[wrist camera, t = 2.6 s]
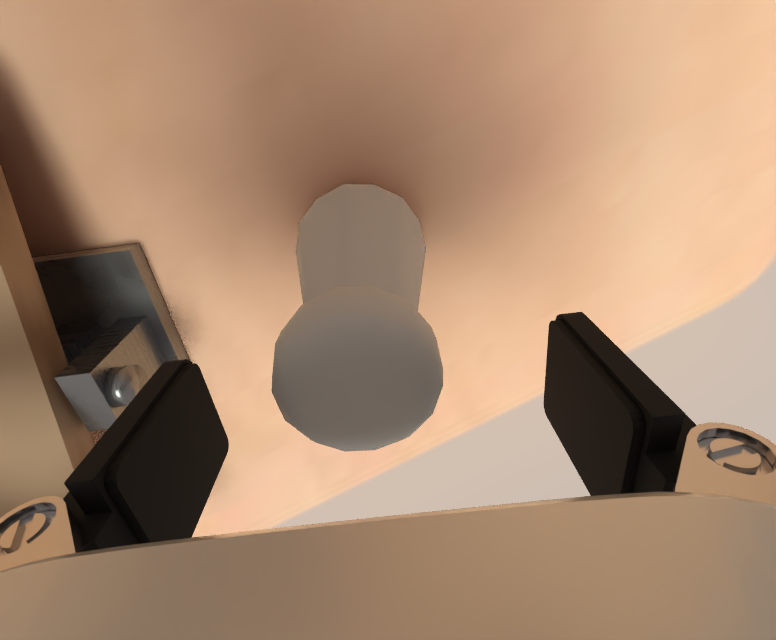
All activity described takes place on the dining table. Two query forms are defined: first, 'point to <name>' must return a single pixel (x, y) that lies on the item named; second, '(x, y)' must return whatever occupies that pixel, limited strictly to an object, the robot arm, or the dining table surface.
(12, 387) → the balance beam
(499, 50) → the dining table surface
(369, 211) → the salt shaker
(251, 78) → the dining table surface
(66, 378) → the beam stand
